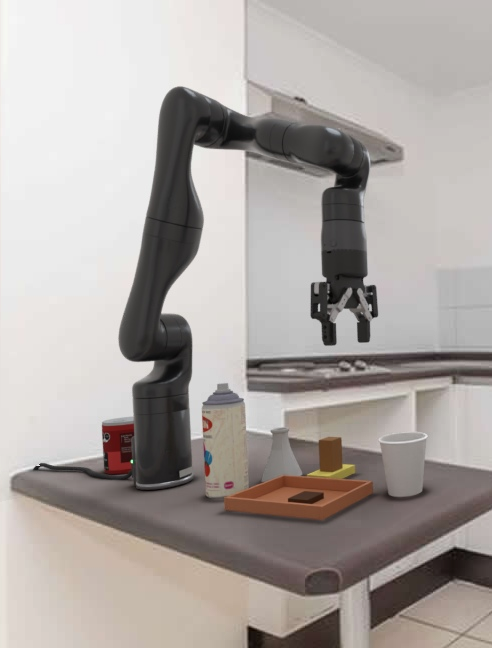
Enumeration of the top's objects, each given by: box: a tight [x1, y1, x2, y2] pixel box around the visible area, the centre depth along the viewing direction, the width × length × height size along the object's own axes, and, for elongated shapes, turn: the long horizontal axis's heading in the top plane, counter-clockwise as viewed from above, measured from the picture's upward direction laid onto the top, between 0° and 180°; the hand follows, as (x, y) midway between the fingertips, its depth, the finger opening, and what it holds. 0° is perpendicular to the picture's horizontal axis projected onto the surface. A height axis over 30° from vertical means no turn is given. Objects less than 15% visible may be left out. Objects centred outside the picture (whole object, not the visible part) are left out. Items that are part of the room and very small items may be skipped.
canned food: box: [101, 416, 134, 475], centre depth 120 cm, size 8×8×11 cm
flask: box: [260, 426, 303, 483], centre depth 107 cm, size 7×7×10 cm
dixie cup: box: [378, 431, 429, 498], centre depth 96 cm, size 8×8×10 cm
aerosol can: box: [201, 382, 250, 499], centre depth 99 cm, size 7×7×20 cm
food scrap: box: [288, 491, 324, 504], centre depth 92 cm, size 4×4×1 cm
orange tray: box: [223, 475, 374, 521], centre depth 92 cm, size 19×13×2 cm
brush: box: [306, 436, 356, 479], centre depth 106 cm, size 5×8×8 cm, turn 161°
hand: (347, 344), depth 95 cm, fingers open, 8 cm apart
